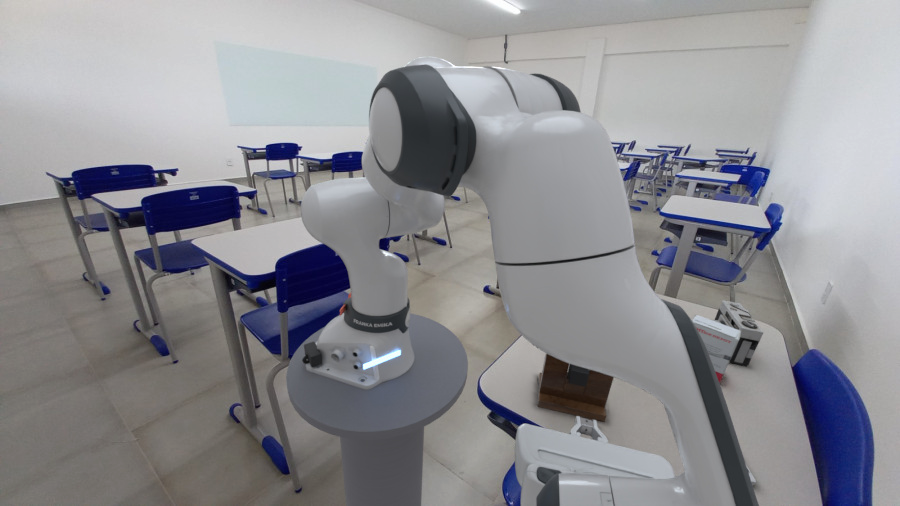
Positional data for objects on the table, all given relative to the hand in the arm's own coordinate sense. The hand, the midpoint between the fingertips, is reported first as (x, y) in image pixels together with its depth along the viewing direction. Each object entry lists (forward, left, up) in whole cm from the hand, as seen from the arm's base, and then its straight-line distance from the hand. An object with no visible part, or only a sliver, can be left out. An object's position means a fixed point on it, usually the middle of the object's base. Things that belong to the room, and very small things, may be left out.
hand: (585, 420), depth 54 cm
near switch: (+1, +11, -2) cm, 11 cm away
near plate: (+1, +13, -8) cm, 16 cm away
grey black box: (+42, +39, -8) cm, 58 cm away
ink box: (+32, +28, -8) cm, 44 cm away
